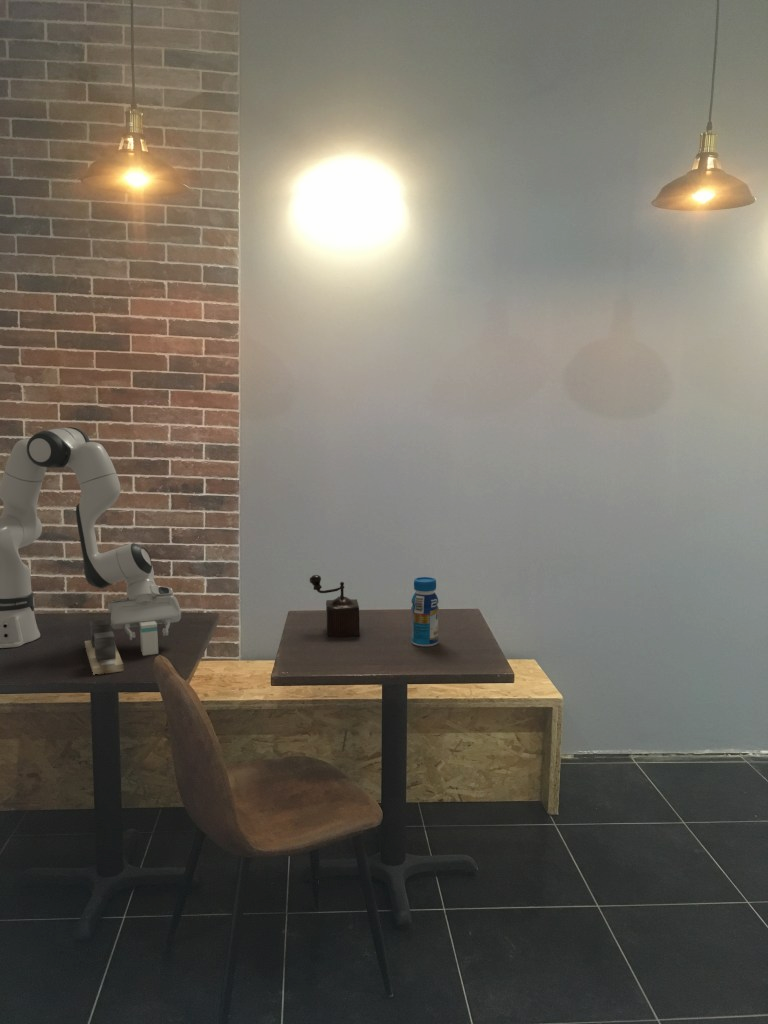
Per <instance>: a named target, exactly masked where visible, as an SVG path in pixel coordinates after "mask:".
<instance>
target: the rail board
mask: <svg viewBox="0 0 768 1024" xmlns="http://www.w3.org/2000/svg"><path fill="white" fill-rule="evenodd" d="M110 626H111V625H110V621H109V619H100V620H90V621H89V630H90V631H89V632H90V640H85V641H84V649H85V648H86V649H85V652H86V654H87V658H88V663H89V665H90V668H91V672H93V673H92V675H93V676H95V674H98V675H105V674H111V673H117V672H119V673H120V672H124V671H125V670H124V662H123V660H122V658H121V655H120V653H119V650H118V648H117V645H116V637H115V634H114V632H113V631H111V630H110V629H111V628H110ZM104 673H105V674H104Z"/></svg>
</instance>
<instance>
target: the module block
mask: <svg viewBox="0 0 768 1024" xmlns="http://www.w3.org/2000/svg"><path fill="white" fill-rule="evenodd" d="M139 633H140V634H139V636H140V637H139V638H140V652H142V653H141V654H142V656H143V657H144V656H149V655H150V656H153V655H159V642H158V641H159V638H158V624H157V623H156V622H155V621H147V622H140V626H139Z"/></svg>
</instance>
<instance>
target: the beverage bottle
mask: <svg viewBox="0 0 768 1024" xmlns="http://www.w3.org/2000/svg"><path fill="white" fill-rule="evenodd" d="M413 590H414V591H415V592H414V594H413V595H412V597H411V604H412V605H411V607H410V613H411V637H410V638H411V639H410V640H411V643H412V645H415V646H418V647H432V646H433V647H434V646H436V645H437V644H438V643H439V611H440V609H439V606H438V604H439V598H438V595H437V594H436V592H435V591H437V579H436V578H435V577H431V576H430V577H429V576H419V577H415V578H414V580H413Z"/></svg>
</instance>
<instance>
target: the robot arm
mask: <svg viewBox="0 0 768 1024" xmlns="http://www.w3.org/2000/svg"><path fill="white" fill-rule="evenodd" d="M65 467H68V468H70V469H71V470H72V471H73V472H74V474H75V477H76V479H77V482H78V483H77V484H78V485H79V489H80V500H79V502H78V504H77V505H76V507H75V517H76V524H77V531H78V537H79V542H80V548H81V555H82V561H83V563H82V564H83V571H84V576H85V580H86V581H87V583H88V584H89V585H90V586H92V587H94V588H97V589H104V588H107V587H109V586H111V585H113V584H116V583H118V582H122V581H125V584H126V587H125V588H126V596H127V597H125V598H120V599H113V600H112V601H109V602H108V603H107V610H108V612H109V614H110V626H111V628H112V629H114V630H120V629H123V630H124V632H125V633H126V634H127V636H129V641H133V640H136V631H132V630H131V628H138V627H139V628H140V622H147V621H155V622H156V623H157V625H162V624H164V626H165V627H164V628H162V630H161V632H162V636H163V637H165V636H169V629H170V626H171V623H178V622H179V621H180V620H181V618H182V610H181V607H180V604H179V601H178V599H177V597H176V596H175V595H174V590H173V588H171V587H168V586H162V585H157V584H156V582H155V580H154V579H155V572H154V567H153V563H152V558H151V555H150V553H149V552H148V550H147V549H146V548H145V547H144V546H142V545H140V544H137V543H135V542H134V543H133V542H132V543H129V544H125V545H122V546H119V547H117V548H113V549H110V550H107V551H105V552H99V549H98V543H97V537H96V530H95V526H96V525H95V524H96V522H97V520H98V519H99V517H101V516H102V514H103V513H105V512H106V511H107V510H109V509H110V508H112V506H113V505H114V504H115V503H116V502H117V500H118V499H119V497H120V495H121V491H122V489H121V483H120V479H119V476H118V474H117V471H116V469H115V466H114V464H113V461H112V459H111V458H110V455H109V453H108V452H107V450H106V449H105V447H104V446H103V445H102V444H101V443H99V442H95V441H90V439H89V436H88V435H87V433H85V432H84V431H83V430H82V429H79V428H77V427H76V428H75V427H72V426H71V427H56V428H54V427H53V428H52V429H48V430H42V431H39V432H37V433H35V434H34V435H32V436H31V437H30V438H24V439H23V438H22V439H20V440H18V441H16V443H15V444H14V445H13V448H12V449H11V452H10V454H9V456H8V459H7V461H6V464H5V468H4V471H3V475H2V479H1V481H0V500H1V501H2V503H3V509H2V513H1V515H0V649H4V648H5V649H6V648H17V647H21V646H23V645H24V644H26V643H27V644H28V643H30V642H34V641H35V640H37V639H39V638H40V637H41V633H40V630H39V628H38V624H37V621H36V616H35V615H36V614H35V607H36V606H35V596H34V593H33V591H32V579H31V577H32V576H31V569H30V567H29V566H28V565H27V564H26V563H24V562H23V561H22V558H21V557H20V553H19V549H21V548H24V547H27V546H29V545H31V544H32V543H34V542H35V541H36V540H38V539H39V538H40V537H41V535H42V532H43V524H42V522H41V520H40V518H39V517H38V500H39V496H40V494H41V489H42V486H43V482H44V479H45V475H46V471H47V470H48V469H49V468H50V469H52V468H65Z"/></svg>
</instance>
